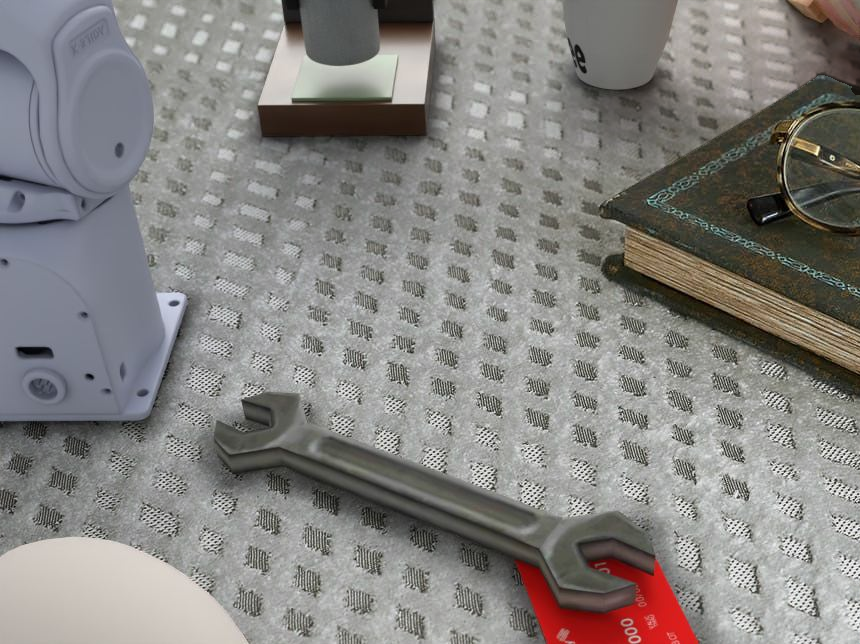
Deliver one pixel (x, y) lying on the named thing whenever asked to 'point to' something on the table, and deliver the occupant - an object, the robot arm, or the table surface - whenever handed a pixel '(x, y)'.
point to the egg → (103, 597)
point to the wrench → (445, 503)
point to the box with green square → (354, 80)
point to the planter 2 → (833, 13)
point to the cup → (617, 39)
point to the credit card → (617, 630)
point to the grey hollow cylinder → (340, 31)
